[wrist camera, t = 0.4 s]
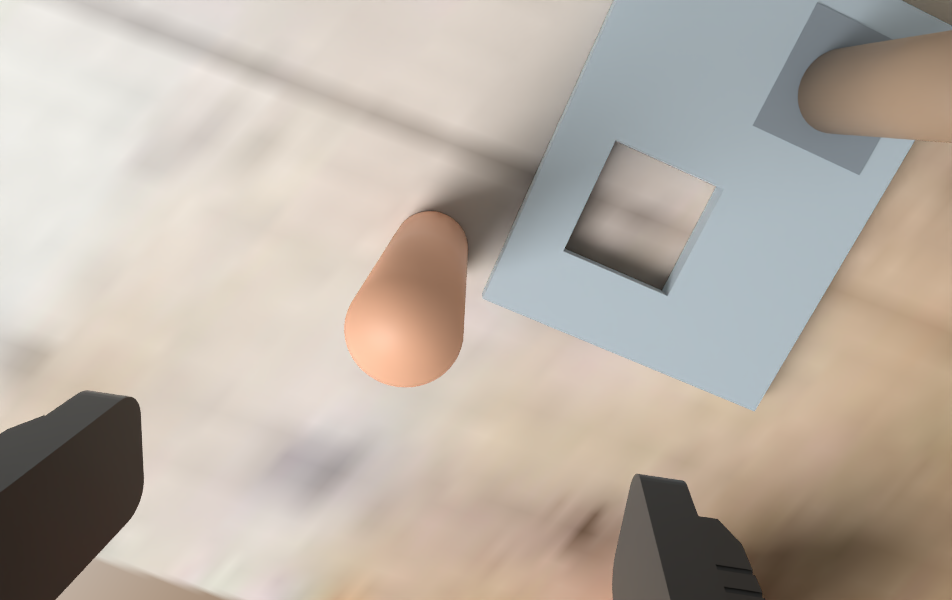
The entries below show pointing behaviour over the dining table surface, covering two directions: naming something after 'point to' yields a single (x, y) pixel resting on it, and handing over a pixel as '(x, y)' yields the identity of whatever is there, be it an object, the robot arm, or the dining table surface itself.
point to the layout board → (729, 172)
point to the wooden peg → (412, 304)
